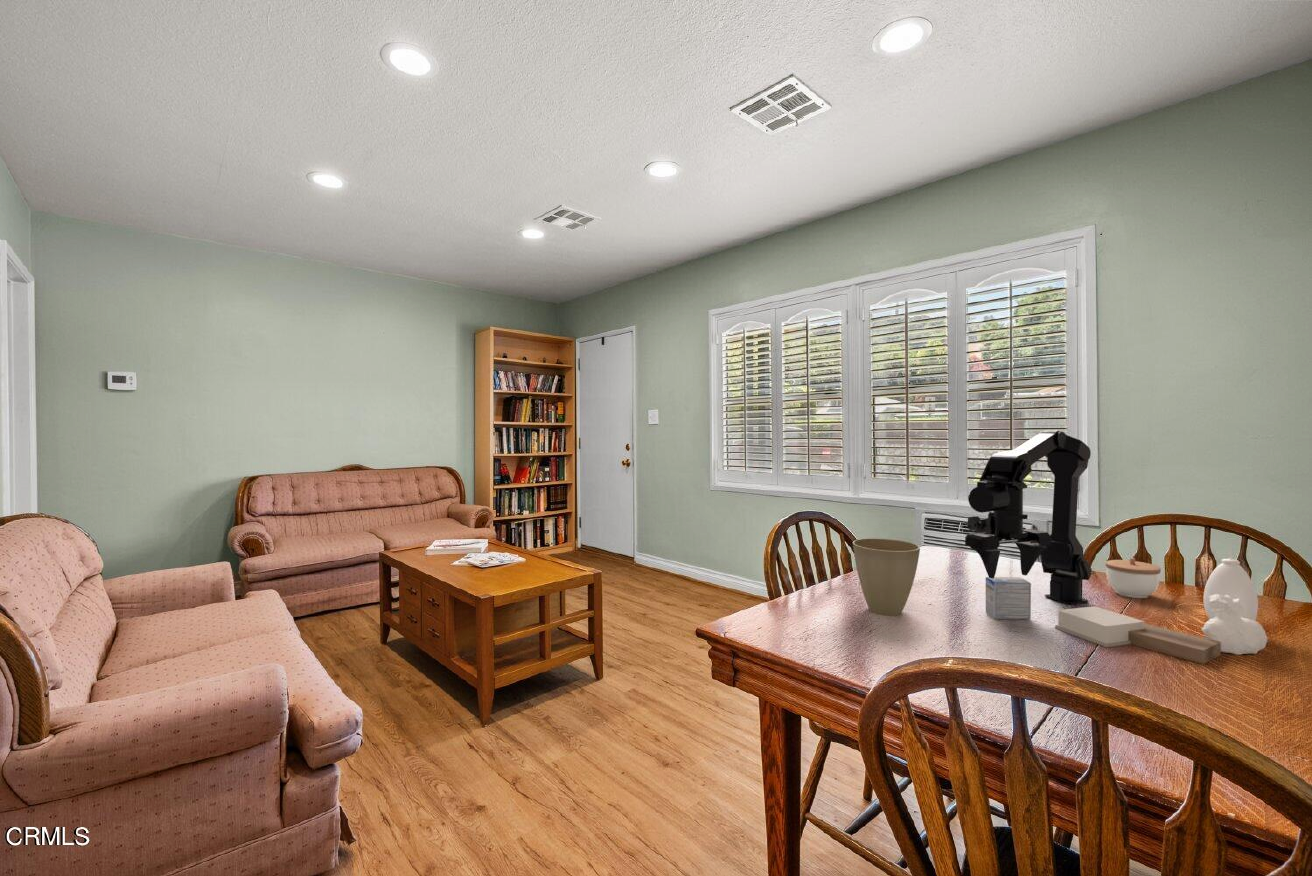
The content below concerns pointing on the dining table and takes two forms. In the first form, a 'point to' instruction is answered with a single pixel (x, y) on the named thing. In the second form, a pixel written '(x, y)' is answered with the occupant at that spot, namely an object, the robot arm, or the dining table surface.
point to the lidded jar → (1133, 577)
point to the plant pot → (886, 572)
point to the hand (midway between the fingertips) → (1007, 576)
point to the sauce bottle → (1232, 587)
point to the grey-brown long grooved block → (1175, 643)
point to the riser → (1098, 625)
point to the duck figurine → (1233, 627)
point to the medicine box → (1008, 598)
